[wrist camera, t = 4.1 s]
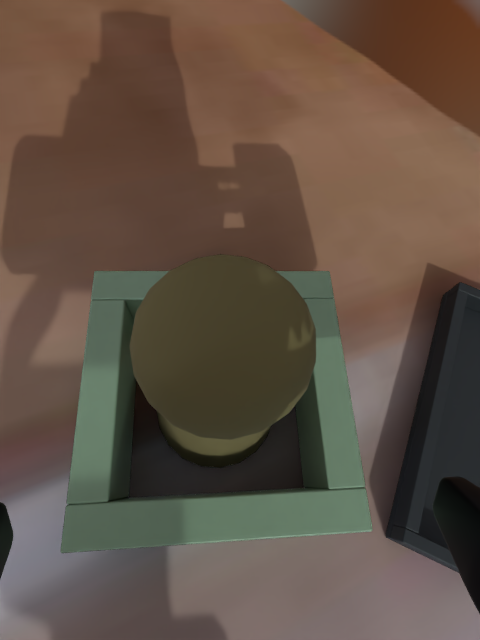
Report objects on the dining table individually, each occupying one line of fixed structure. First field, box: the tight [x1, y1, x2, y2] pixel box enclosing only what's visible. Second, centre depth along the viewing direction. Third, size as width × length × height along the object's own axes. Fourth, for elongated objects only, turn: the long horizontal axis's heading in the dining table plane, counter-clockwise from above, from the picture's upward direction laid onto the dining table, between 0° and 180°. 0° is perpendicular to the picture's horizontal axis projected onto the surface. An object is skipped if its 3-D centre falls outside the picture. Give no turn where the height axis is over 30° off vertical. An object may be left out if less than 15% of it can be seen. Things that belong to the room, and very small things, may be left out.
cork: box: [129, 254, 316, 468], centre depth 14 cm, size 6×6×11 cm
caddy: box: [61, 271, 372, 553], centre depth 17 cm, size 11×11×4 cm
